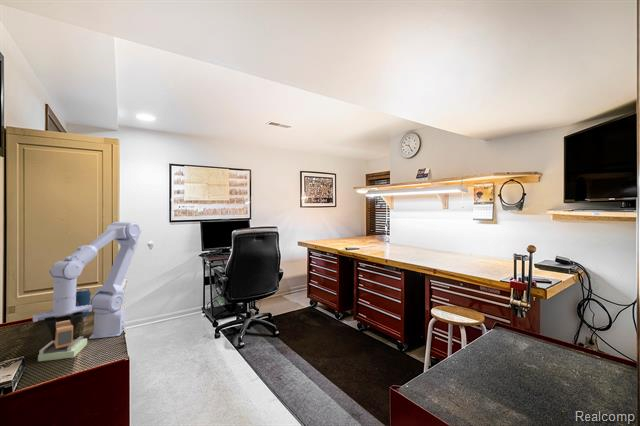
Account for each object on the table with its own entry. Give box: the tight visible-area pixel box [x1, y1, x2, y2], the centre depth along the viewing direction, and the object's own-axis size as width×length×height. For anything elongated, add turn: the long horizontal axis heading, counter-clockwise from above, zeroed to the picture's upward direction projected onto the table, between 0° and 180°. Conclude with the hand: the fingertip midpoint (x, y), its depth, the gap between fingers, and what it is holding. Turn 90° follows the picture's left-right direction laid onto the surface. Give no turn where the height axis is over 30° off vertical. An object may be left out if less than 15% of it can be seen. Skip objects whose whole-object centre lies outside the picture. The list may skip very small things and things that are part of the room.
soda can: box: [68, 287, 92, 319], centre depth 125 cm, size 7×7×12 cm
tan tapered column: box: [53, 319, 74, 348], centre depth 94 cm, size 4×9×6 cm, turn 49°
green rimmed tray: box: [37, 335, 88, 362], centre depth 94 cm, size 9×10×3 cm
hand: (62, 337), depth 94 cm, fingers closed on tan tapered column, 4 cm apart
